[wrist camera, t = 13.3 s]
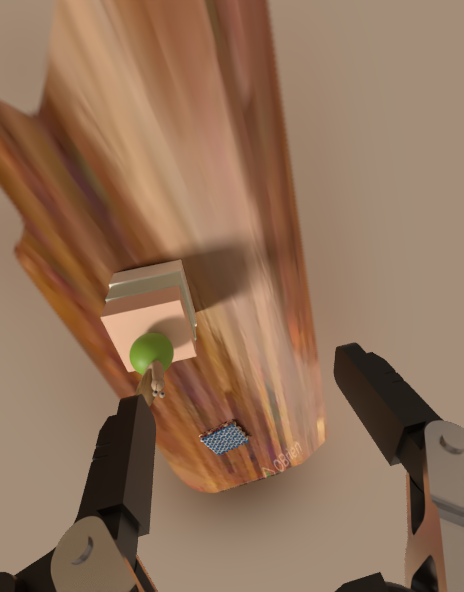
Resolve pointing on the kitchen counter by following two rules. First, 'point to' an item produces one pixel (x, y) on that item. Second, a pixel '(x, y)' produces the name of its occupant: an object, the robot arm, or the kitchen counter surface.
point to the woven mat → (224, 437)
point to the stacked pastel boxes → (151, 309)
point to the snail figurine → (151, 363)
